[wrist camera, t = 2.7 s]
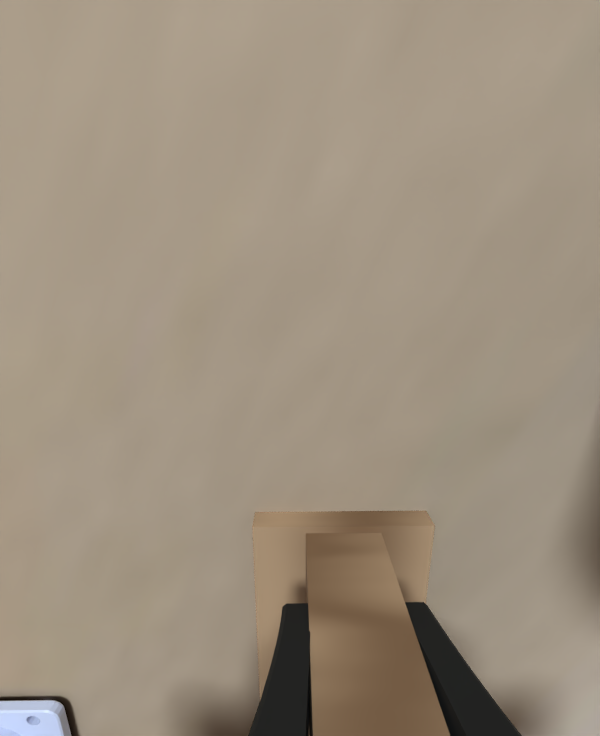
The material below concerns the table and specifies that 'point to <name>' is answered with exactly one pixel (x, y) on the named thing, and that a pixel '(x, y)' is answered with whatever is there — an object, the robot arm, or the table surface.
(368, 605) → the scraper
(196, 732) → the table surface
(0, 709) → the robot arm
